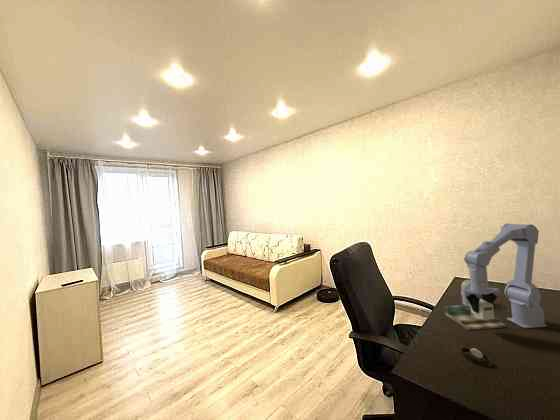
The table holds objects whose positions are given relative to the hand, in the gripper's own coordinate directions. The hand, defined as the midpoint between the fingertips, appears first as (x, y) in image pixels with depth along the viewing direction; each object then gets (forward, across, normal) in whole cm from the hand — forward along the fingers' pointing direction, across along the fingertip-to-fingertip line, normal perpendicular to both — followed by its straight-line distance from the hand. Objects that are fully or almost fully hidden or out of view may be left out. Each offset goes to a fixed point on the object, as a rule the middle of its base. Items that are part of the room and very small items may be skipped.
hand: (481, 311), depth 95 cm
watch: (+9, +17, +16) cm, 25 cm away
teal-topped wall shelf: (+9, -3, -9) cm, 13 cm away
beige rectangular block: (+2, 0, 0) cm, 2 cm away
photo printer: (+9, -15, -26) cm, 32 cm away
